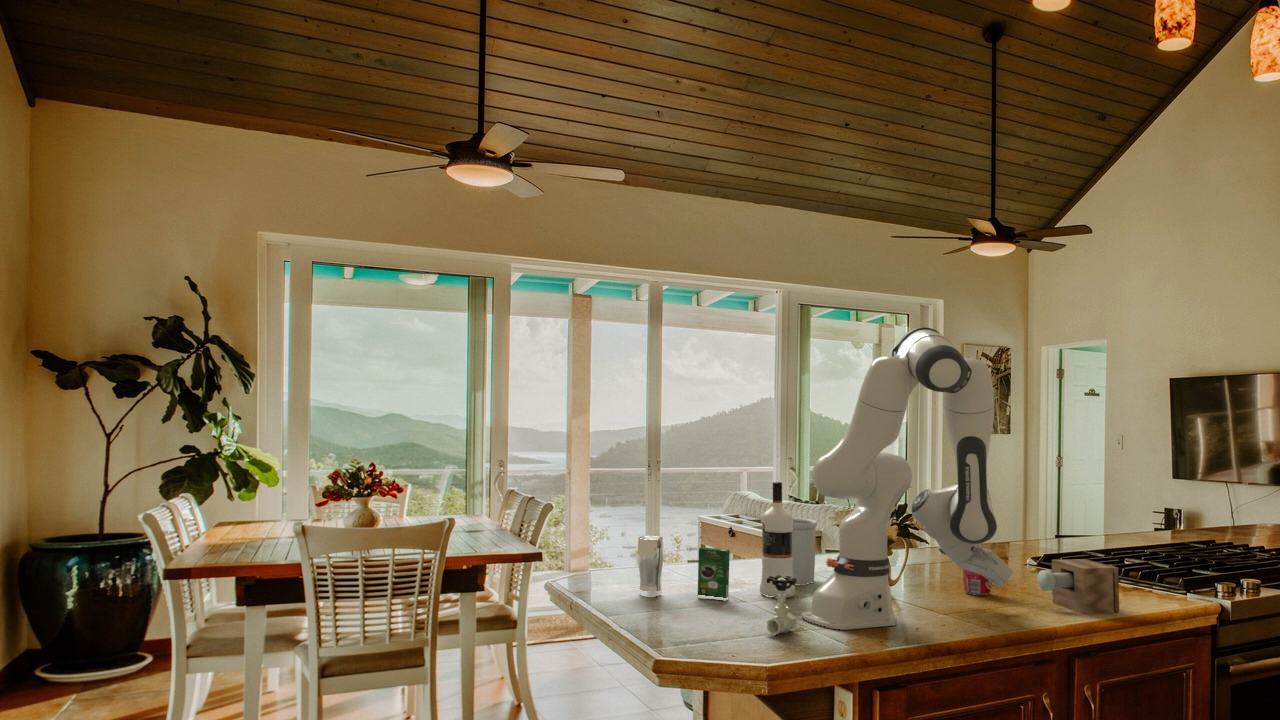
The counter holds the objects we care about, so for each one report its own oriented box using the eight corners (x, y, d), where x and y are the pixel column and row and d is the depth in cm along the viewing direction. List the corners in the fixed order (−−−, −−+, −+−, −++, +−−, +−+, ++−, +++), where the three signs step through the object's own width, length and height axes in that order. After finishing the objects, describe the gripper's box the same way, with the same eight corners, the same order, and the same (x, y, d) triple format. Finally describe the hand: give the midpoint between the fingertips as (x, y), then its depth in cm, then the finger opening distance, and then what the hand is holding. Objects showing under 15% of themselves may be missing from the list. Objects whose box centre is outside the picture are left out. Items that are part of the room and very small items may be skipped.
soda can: (986, 591, 223) (985, 547, 224) (995, 596, 216) (994, 551, 217) (960, 590, 224) (959, 546, 224) (967, 596, 217) (967, 550, 217)
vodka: (796, 599, 210) (796, 483, 212) (760, 598, 211) (760, 483, 213) (793, 592, 219) (793, 480, 221) (759, 590, 220) (759, 480, 222)
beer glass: (644, 591, 218) (644, 535, 219) (667, 593, 215) (668, 537, 216) (632, 596, 212) (633, 538, 213) (656, 599, 209) (656, 540, 210)
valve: (760, 633, 177) (760, 578, 178) (776, 628, 182) (776, 574, 183) (786, 639, 173) (786, 582, 173) (802, 633, 177) (802, 578, 178)
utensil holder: (823, 579, 237) (823, 519, 238) (806, 588, 224) (806, 524, 225) (776, 573, 245) (776, 515, 246) (757, 582, 232) (757, 520, 233)
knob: (1050, 592, 201) (1050, 572, 201) (1037, 588, 206) (1037, 568, 206) (1085, 591, 202) (1084, 571, 202) (1071, 587, 207) (1071, 567, 207)
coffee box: (730, 599, 209) (730, 548, 210) (726, 602, 207) (727, 550, 207) (700, 596, 212) (701, 546, 213) (697, 599, 210) (697, 547, 211)
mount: (1084, 613, 198) (1083, 568, 199) (1052, 602, 210) (1051, 559, 210) (1119, 612, 199) (1118, 567, 200) (1085, 601, 211) (1084, 559, 212)
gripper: (994, 541, 191) (1033, 583, 191) (949, 530, 211) (985, 567, 211) (977, 561, 190) (1016, 602, 190) (933, 547, 210) (969, 585, 210)
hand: (999, 584), depth 201 cm, fingers closed
